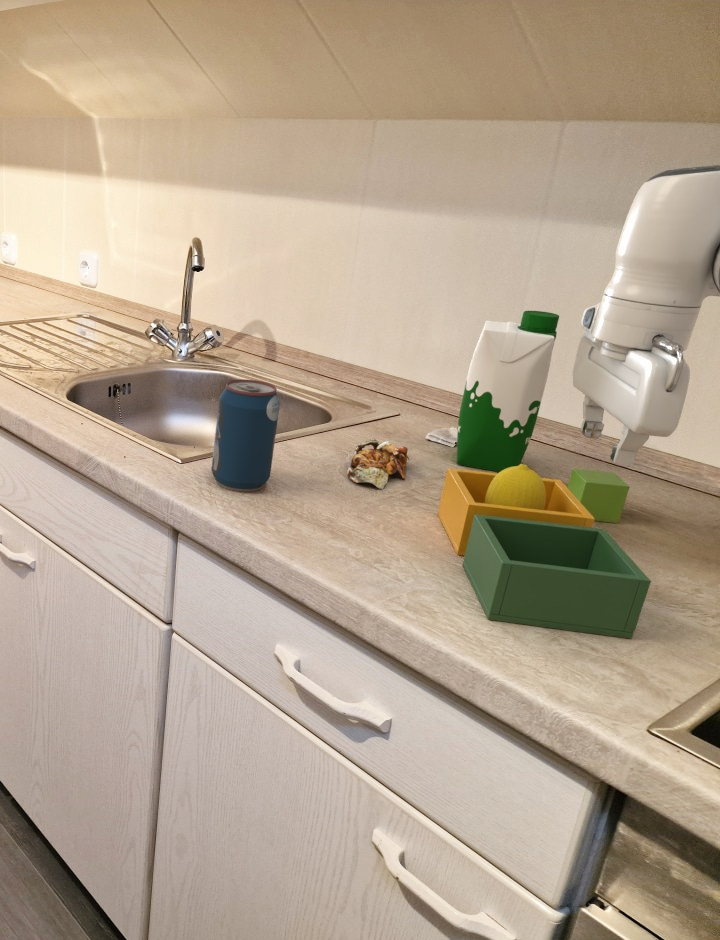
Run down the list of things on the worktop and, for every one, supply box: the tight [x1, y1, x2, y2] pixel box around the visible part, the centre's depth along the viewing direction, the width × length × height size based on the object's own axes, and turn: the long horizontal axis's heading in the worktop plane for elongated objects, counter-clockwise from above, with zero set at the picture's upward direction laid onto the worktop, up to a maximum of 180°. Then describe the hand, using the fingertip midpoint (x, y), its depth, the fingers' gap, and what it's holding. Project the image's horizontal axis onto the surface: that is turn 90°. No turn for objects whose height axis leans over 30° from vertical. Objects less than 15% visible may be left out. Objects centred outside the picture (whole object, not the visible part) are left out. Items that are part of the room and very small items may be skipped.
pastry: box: [346, 437, 410, 490], centre depth 107 cm, size 7×12×4 cm, turn 156°
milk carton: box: [456, 310, 560, 473], centre depth 109 cm, size 9×9×20 cm
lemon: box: [485, 463, 546, 510], centre depth 88 cm, size 6×6×8 cm
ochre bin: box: [437, 467, 595, 556], centre depth 89 cm, size 12×11×6 cm
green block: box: [567, 467, 630, 524], centre depth 97 cm, size 4×4×4 cm
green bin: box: [461, 514, 652, 640], centre depth 77 cm, size 12×11×6 cm
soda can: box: [210, 379, 281, 493], centre depth 100 cm, size 7×7×12 cm
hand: (604, 449), depth 95 cm, fingers open, 8 cm apart
